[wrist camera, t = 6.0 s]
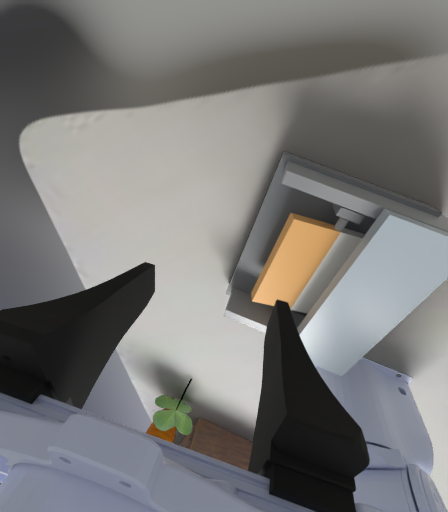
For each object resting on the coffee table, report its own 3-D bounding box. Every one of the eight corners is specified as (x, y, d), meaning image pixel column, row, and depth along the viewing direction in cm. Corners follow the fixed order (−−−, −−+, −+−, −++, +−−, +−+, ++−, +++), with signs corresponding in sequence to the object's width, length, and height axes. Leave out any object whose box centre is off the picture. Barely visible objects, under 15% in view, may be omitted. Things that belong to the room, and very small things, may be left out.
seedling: (186, 357, 42) (169, 392, 42) (159, 371, 35) (139, 412, 35) (220, 382, 40) (203, 418, 40) (199, 402, 32) (178, 447, 32)
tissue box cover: (223, 485, 57) (211, 549, 49) (167, 458, 57) (145, 518, 49) (274, 451, 43) (270, 533, 35) (200, 416, 43) (177, 489, 35)
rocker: (384, 228, 18) (392, 235, 17) (318, 314, 23) (321, 323, 22) (295, 202, 17) (299, 208, 16) (247, 299, 22) (248, 307, 21)
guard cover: (468, 240, 14) (479, 248, 13) (339, 365, 21) (341, 376, 21) (384, 208, 14) (390, 214, 13) (285, 343, 22) (285, 353, 21)
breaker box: (444, 211, 18) (487, 240, 14) (340, 329, 26) (348, 369, 22) (283, 151, 18) (281, 162, 15) (228, 284, 26) (217, 315, 22)
